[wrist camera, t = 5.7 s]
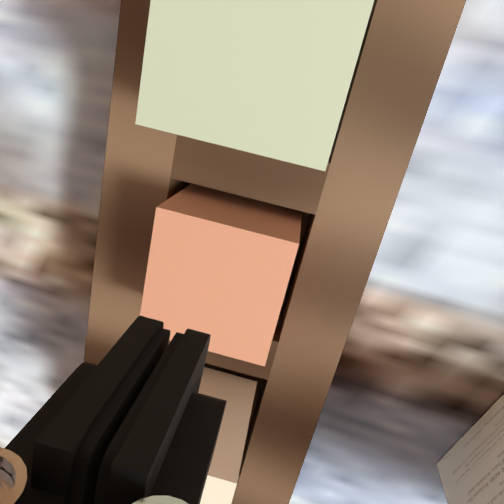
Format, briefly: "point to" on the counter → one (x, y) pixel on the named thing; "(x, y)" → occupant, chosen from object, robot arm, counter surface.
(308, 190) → the brown slotted tray
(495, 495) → the skincare box
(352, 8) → the sage key
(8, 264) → the counter surface
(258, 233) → the terracotta key
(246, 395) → the cream key
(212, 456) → the robot arm
